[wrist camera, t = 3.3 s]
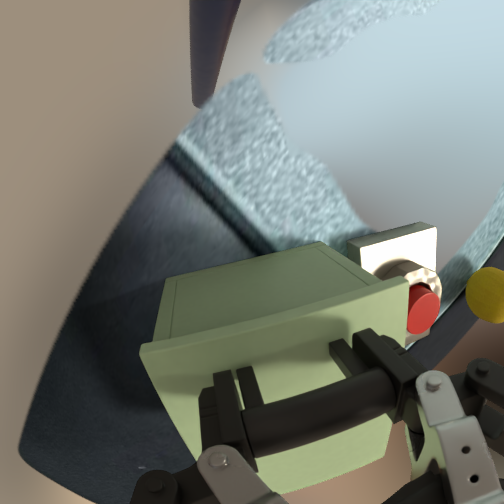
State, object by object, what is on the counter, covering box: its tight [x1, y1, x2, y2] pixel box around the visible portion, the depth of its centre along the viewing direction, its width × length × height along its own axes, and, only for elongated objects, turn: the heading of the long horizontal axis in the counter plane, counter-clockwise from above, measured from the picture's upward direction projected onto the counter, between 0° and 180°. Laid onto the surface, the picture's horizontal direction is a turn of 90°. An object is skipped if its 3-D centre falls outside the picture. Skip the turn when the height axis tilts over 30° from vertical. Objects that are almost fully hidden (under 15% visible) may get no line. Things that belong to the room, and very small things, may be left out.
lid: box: [139, 276, 409, 495], centre depth 12 cm, size 15×12×5 cm
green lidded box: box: [152, 242, 382, 342], centre depth 19 cm, size 14×12×10 cm
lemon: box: [466, 267, 504, 323], centre depth 23 cm, size 6×6×8 cm
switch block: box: [347, 222, 442, 346], centre depth 23 cm, size 11×8×4 cm
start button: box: [406, 285, 440, 335], centre depth 21 cm, size 4×4×2 cm
